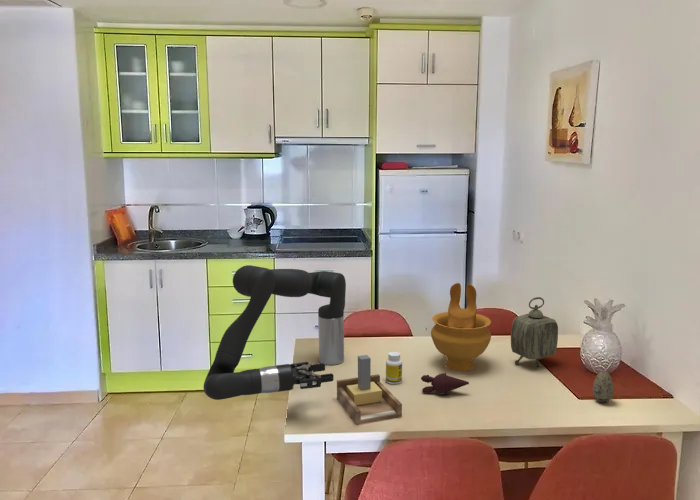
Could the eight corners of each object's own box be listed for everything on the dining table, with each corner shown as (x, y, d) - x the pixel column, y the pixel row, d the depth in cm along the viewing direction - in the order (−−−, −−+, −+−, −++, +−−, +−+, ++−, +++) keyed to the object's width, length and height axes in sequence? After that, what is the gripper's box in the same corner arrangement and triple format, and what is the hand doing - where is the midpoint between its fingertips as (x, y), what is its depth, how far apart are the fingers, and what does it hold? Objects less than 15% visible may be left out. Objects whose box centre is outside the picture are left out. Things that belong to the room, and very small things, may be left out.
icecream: (467, 369, 184) (420, 371, 186) (469, 373, 176) (420, 375, 178) (469, 391, 183) (422, 393, 185) (470, 395, 176) (422, 397, 178)
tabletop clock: (539, 357, 211) (543, 292, 207) (558, 365, 203) (562, 298, 199) (509, 364, 205) (512, 297, 201) (527, 372, 197) (530, 303, 193)
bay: (337, 398, 178) (336, 380, 177) (378, 391, 183) (378, 374, 181) (356, 424, 161) (356, 404, 160) (401, 416, 166) (402, 397, 165)
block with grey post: (346, 396, 177) (346, 355, 174) (373, 392, 180) (373, 351, 177) (354, 405, 170) (354, 363, 168) (382, 401, 173) (382, 359, 171)
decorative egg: (611, 407, 171) (613, 376, 169) (590, 403, 174) (592, 372, 172) (614, 400, 176) (616, 369, 174) (593, 395, 179) (595, 365, 177)
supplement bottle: (400, 385, 188) (401, 357, 186) (384, 384, 189) (384, 356, 187) (402, 378, 193) (403, 351, 191) (386, 377, 194) (387, 350, 192)
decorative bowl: (423, 371, 199) (425, 288, 193) (437, 351, 218) (439, 275, 213) (484, 380, 191) (488, 294, 186) (493, 358, 210) (497, 279, 205)
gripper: (280, 375, 157) (336, 368, 162) (269, 358, 170) (322, 351, 175) (280, 401, 158) (336, 393, 163) (270, 381, 171) (322, 375, 177)
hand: (328, 371), depth 169 cm, fingers open, 8 cm apart
